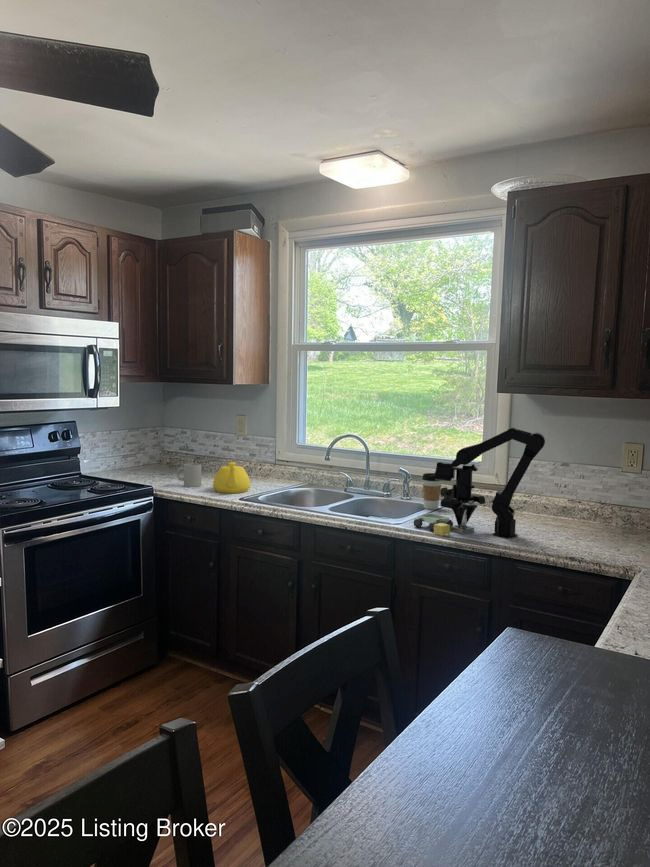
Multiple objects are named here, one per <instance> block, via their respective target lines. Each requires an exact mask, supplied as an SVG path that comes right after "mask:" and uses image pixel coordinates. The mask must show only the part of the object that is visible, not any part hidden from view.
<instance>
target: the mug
mask: <svg viewBox="0 0 650 867" xmlns="http://www.w3.org/2000/svg"><path fill="white" fill-rule="evenodd" d="M177 468H178V469H177V470H176V477H177V480H178V481H181V482H183V487H184V486H185V488H190V487H194V488H201V487H200V486H202V463H197V462H189V463H184V464H183V466H181V467H177ZM180 471H183V477H181V476H180Z"/></svg>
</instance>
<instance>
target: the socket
mask: <svg viewBox="0 0 650 867" xmlns="http://www.w3.org/2000/svg"><path fill="white" fill-rule="evenodd" d="M453 531H454V533H457V534H461V533H462V534H461V535H465V534H469V533H474V532H475V527H473V526H471V525H466V528H464V529H462V528H458V524H455V525H454V524H453V526H450V532H453Z"/></svg>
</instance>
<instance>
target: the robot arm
mask: <svg viewBox="0 0 650 867" xmlns="http://www.w3.org/2000/svg"><path fill="white" fill-rule="evenodd" d="M511 440H513V441H515V442H519V443H521V444H524V445H525V447H524V450H523V453H522V456H521V458H520V460H518V463H517V465H516V467H515V469H514V470H513V472H512V474H511V476H510V478H509V479H508V481H507V483H506V485H505V487H504V488H503V489H502V490H501V491H500V490H499V489H497V491H496V493H495V495H494V497H493V498H492V499H491V510H492V512H493V513H494V514H495V515H496V517H495V520H494V532H493V533H492V535H493V536H497V537H501V538H505V539H511V538H514V537H518V533H516V525H517V524H516V523H517V521H516V520H517V519H516V518H514V517H515V514H516V510H514V508H513V507H511V502H512V500H513V496H514V493H515V491H516V490H517V488H518V486H519V485H520V482H521V481H522V479H523V477H524V475H525V474H526V472H527V470H528V468H529V466H530V465H531V463H532V461H533V460H534V459H535V457H537V455H538V454H539V453H540V452H541V450H542V449H543V448H544V446H545V444H546V438H545V436H544V435H543V434H542V433H541V432H528V431H526V430H521V429H517V428H516V427H509V428H508V429H507V430H504V431H503V432H500V433H498V434H496V435H494V436H492V437H490V438H488V439H485V440H484V441H482V442H479V443H475V444H473V445H469V446H465V447H462V448H461V449H459V450H458V451H457V452H456V454H455V459H453V460H452V462H450V463H449V462H441V461H437V462H436V468H435V471H434V473H435V480H439V481H441V482H445V481H446V482H452V480H454V479H455V483H454V484H453V485H452V488H449V489H448V487H446V486H445V487H441V489H440V497H442V499H441V500H440V507H442V508H447V509H450V510H452V511H453V514H454V516H455V517H454V518H455V519H456V525H461V523H462V519H463V516H464V512H465V509H466V510H467V522H466V525H467V524H468V522H469V520H470V518H471V517H472V515H473V513H474V512H475V511H476V508H478V507H479V505H484V504H486V497H485V496H484V495H481V494H476V493H473V494H472V492H473V490H474V489H475V485H473V472H478V470H479V468H478V467H477V466H476V465H475V463H473V464H471V465H468V464H470V463H472V461H474V460H475V459H477V458H479V456H481V455H482V454H484V453H487V452H488V451H490V450H492V449H495V448H496V447H499V446H501V445H503V444H505V443H508V442H509V441H511ZM460 465H461V466H462V467H459V466H460ZM472 489H473V490H472ZM476 503H478V504H479V505H477V504H476Z"/></svg>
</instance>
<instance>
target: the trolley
mask: <svg viewBox="0 0 650 867" xmlns="http://www.w3.org/2000/svg"><path fill="white" fill-rule="evenodd" d="M423 522H424V523H429V524H428V529H429V531H430V532H431V531H433V532H432V533H434V524H438V523H444V524H448V525H450V526H454V522H453V520H452V519H450V517H449V516H443V515H439V514H435V513H424V514H418V516H417V518H415V519H414V520H413V526H414V527H415V526H416V527H415V528H417V527H418V528H422V527H423ZM421 526H422V527H421Z"/></svg>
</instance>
